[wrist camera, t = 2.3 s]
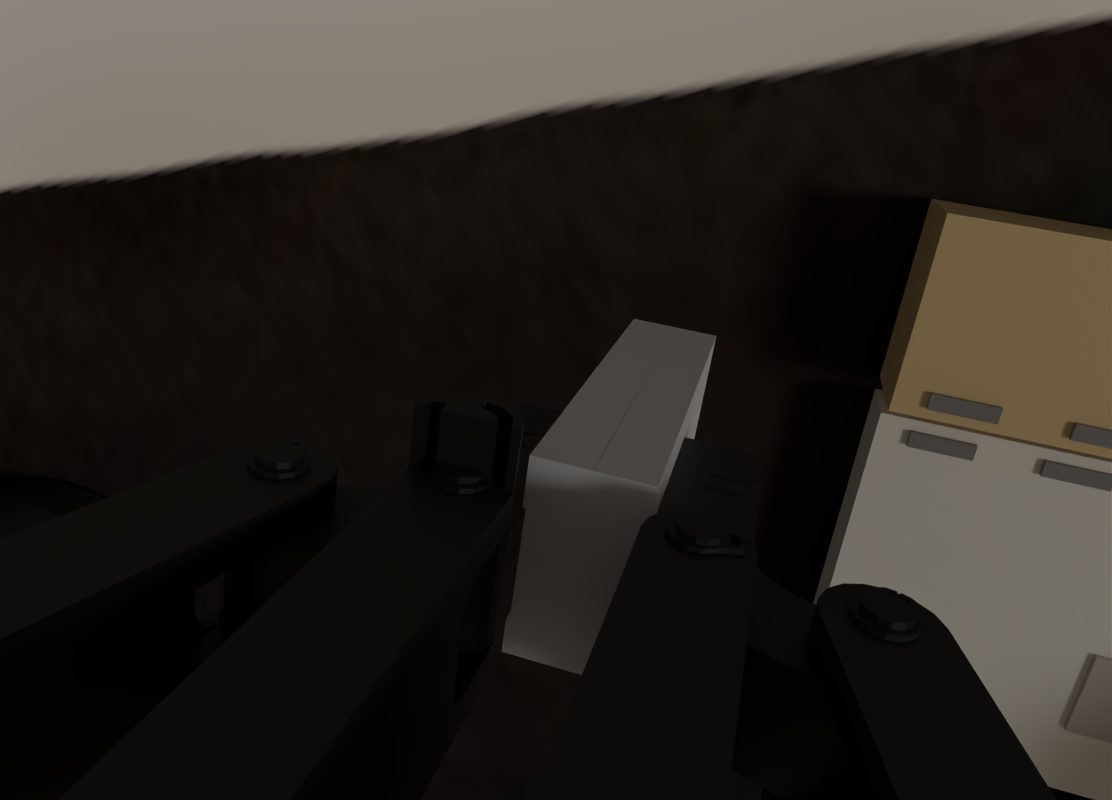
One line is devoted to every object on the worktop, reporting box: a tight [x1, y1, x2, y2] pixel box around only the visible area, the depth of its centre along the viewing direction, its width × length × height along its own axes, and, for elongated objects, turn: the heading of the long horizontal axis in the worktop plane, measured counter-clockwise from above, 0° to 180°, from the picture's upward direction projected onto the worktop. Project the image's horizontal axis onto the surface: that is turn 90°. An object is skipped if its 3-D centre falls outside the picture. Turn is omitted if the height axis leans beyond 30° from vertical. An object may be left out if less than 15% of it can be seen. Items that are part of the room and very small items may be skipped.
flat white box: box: [813, 389, 1112, 800], centre depth 30 cm, size 16×12×3 cm
